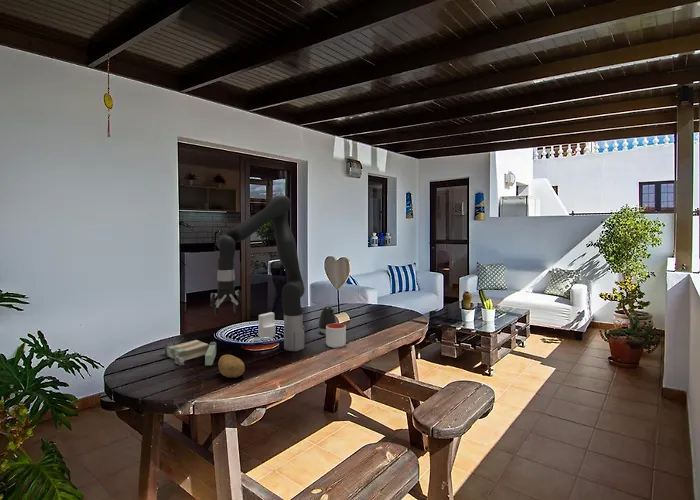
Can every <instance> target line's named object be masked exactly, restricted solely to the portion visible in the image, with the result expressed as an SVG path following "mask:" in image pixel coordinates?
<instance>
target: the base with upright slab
mask: <svg viewBox="0 0 700 500" xmlns="http://www.w3.org/2000/svg"><path fill="white" fill-rule="evenodd" d="M257 326H258V328H257V329H258V331H257V333H258V335H257V336H259V337H258V338H260V337H272V338H274V337H276V324H275V312H272V311H270V312H267V313H266V312H265V313H261V314H259V315H258V325H257ZM273 336H274V337H273Z"/></svg>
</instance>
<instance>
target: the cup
mask: <svg viewBox="0 0 700 500" xmlns="http://www.w3.org/2000/svg"><path fill="white" fill-rule="evenodd" d="M346 329H347V325H345V324H343V323H337V322H336V323H333V324H328V325H326V334H325V344H326V346H327V347H329V348H333V349H334V348H335V349H337V348H338V349H339V348H342V347H344V346H345V345H346V342H347V341H346V340H347V333H346V332H347V330H346Z"/></svg>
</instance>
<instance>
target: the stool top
mask: <svg viewBox="0 0 700 500" xmlns="http://www.w3.org/2000/svg"><path fill="white" fill-rule="evenodd" d="M209 345H210V343H209V344H208V343H206V342H203V341H200V340H198V339H194V340H190V341H185V342H182V343H178V344H174V345H173V344H172V342H165V343H164V355H165V356H166V357H169V358H171V359H174V364H175V363H176V365H177V364H178V366H180V367H182V366H181V365H183V366H185V361H188V360H191V359H194V358H195V359H196V358H198V357H202V356H205V354H206V352H207V350H208V348H209Z"/></svg>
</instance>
